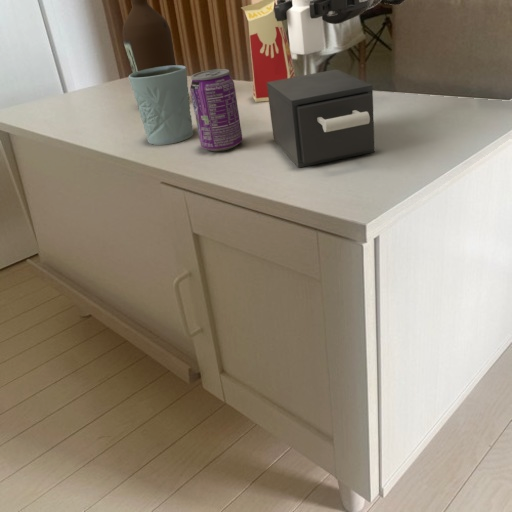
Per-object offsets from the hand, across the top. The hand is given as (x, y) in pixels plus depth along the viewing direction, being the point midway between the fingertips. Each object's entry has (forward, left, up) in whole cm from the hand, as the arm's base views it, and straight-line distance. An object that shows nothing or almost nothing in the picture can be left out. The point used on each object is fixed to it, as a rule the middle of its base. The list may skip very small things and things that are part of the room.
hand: (295, 11), depth 75 cm
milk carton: (+24, -29, -20) cm, 43 cm away
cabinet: (-2, 0, -20) cm, 20 cm away
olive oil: (+50, -21, -20) cm, 58 cm away
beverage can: (+15, +3, -20) cm, 25 cm away
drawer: (-5, +2, -19) cm, 19 cm away
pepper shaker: (0, -3, -6) cm, 7 cm away
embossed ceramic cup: (+29, 0, -20) cm, 35 cm away
